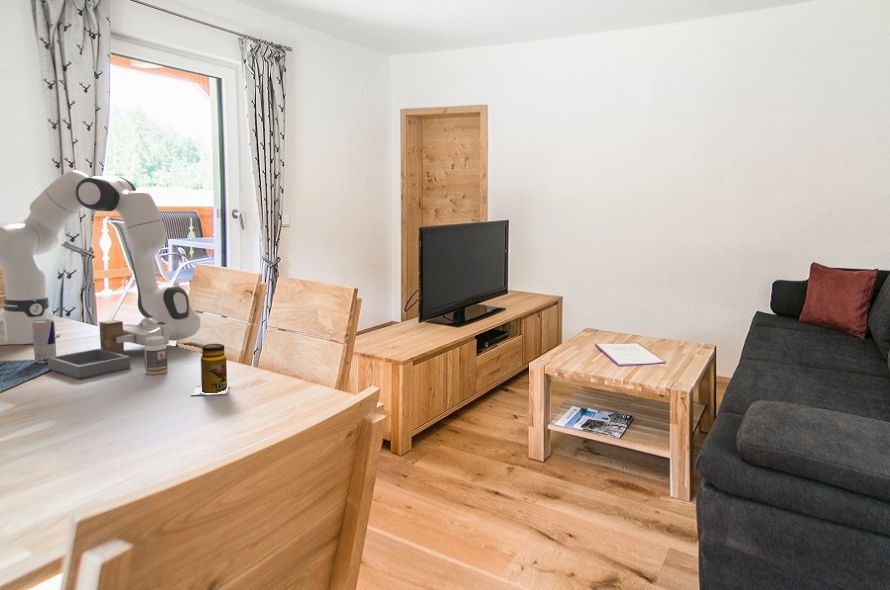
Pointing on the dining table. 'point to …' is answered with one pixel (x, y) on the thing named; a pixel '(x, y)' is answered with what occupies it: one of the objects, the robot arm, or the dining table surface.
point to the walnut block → (111, 336)
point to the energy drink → (44, 340)
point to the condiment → (213, 368)
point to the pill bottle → (155, 355)
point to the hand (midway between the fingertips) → (108, 338)
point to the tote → (89, 363)
